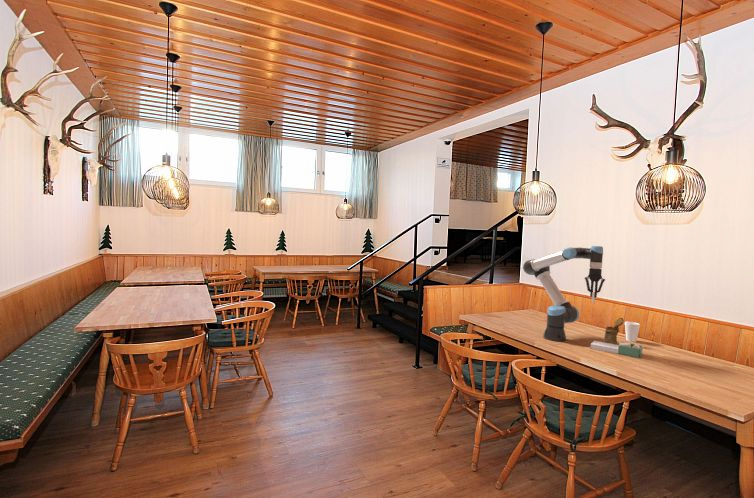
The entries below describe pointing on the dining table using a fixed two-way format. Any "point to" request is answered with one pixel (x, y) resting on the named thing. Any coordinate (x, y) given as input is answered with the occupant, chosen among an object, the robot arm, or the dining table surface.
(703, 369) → the dining table surface
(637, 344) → the tile
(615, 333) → the wooden mug
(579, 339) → the dining table surface
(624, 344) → the tile
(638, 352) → the box
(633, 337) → the foam cup
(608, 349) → the board
